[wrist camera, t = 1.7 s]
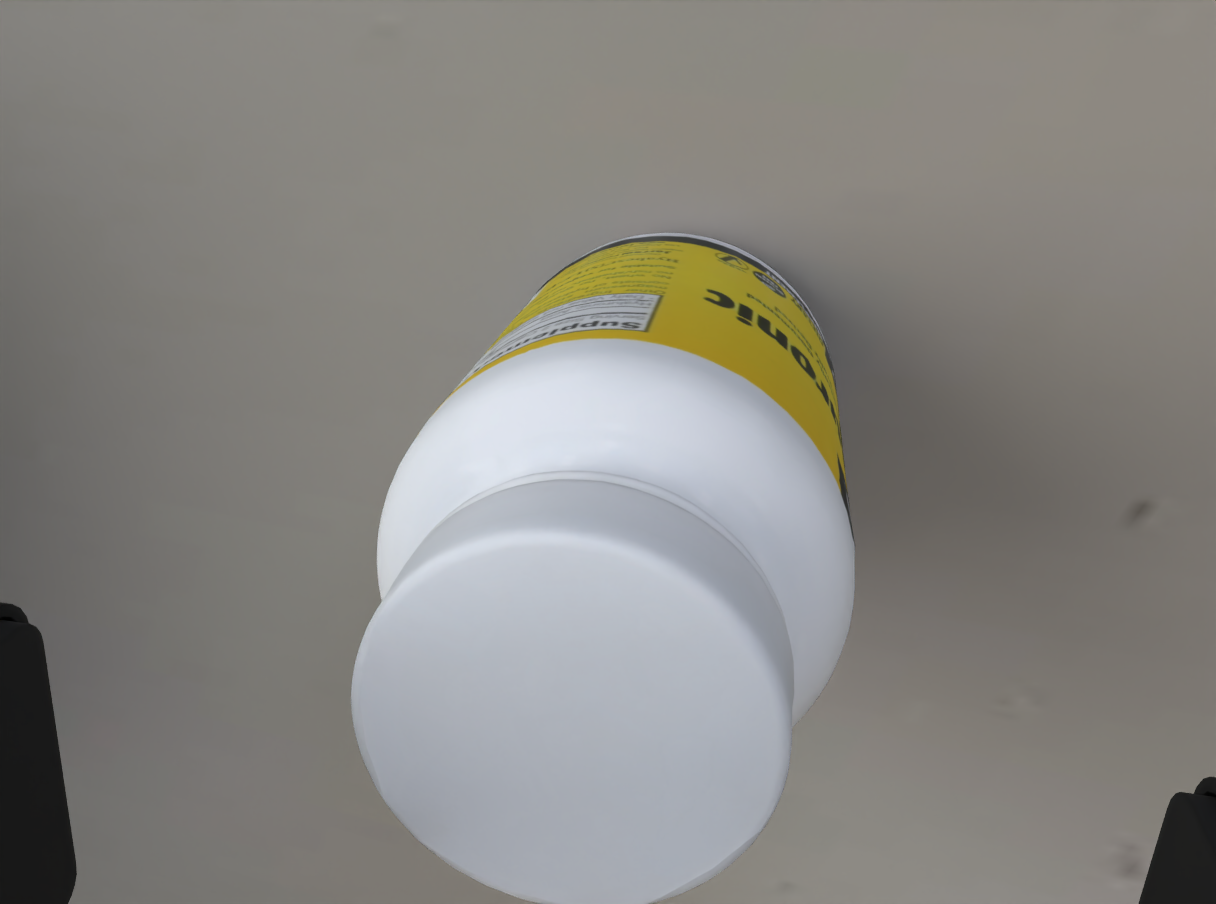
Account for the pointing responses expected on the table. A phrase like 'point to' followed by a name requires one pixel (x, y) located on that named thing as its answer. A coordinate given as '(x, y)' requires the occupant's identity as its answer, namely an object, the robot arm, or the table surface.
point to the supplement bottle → (612, 580)
